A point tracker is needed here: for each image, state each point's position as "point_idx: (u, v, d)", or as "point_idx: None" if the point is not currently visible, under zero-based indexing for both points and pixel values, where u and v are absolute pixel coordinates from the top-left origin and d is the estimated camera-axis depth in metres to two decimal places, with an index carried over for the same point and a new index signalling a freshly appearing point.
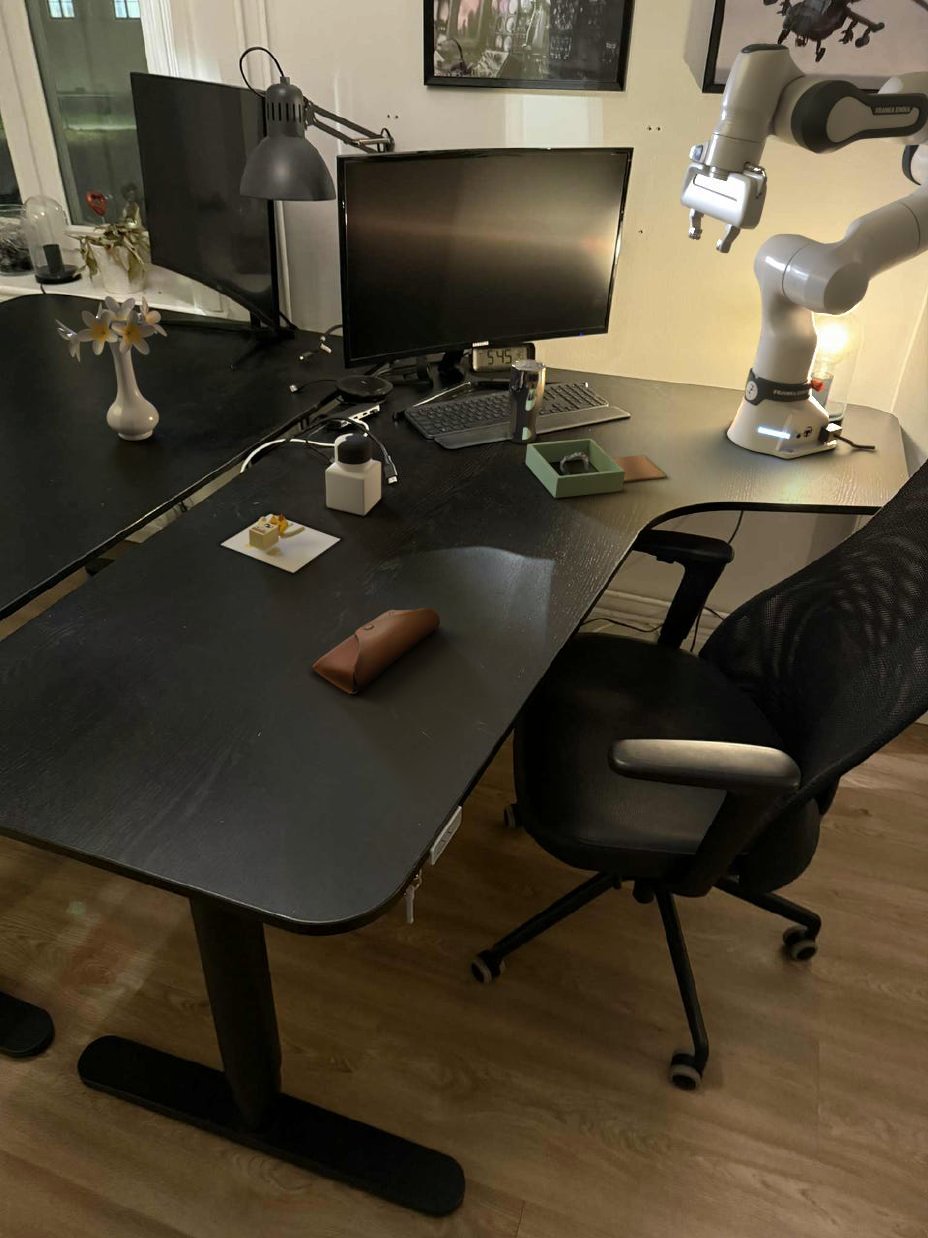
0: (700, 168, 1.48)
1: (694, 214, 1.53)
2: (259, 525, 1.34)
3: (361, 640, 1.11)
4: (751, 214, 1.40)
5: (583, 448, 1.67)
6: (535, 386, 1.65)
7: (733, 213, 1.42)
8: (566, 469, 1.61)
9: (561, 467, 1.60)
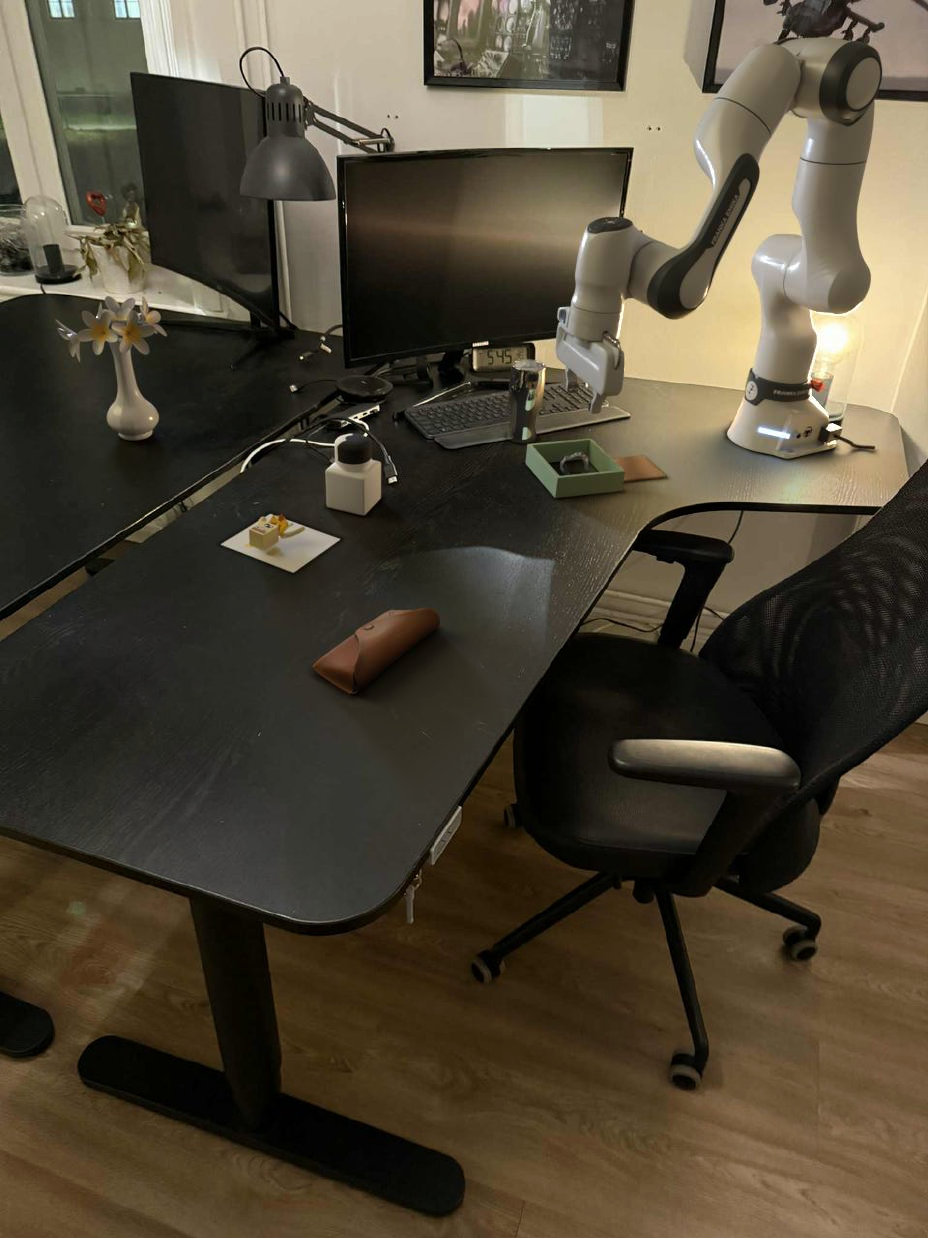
0: (566, 331, 1.49)
1: (568, 370, 1.55)
2: (259, 525, 1.34)
3: (361, 640, 1.11)
4: (612, 383, 1.41)
5: (583, 448, 1.67)
6: (535, 386, 1.65)
7: (596, 381, 1.43)
8: (566, 469, 1.61)
9: (561, 467, 1.60)
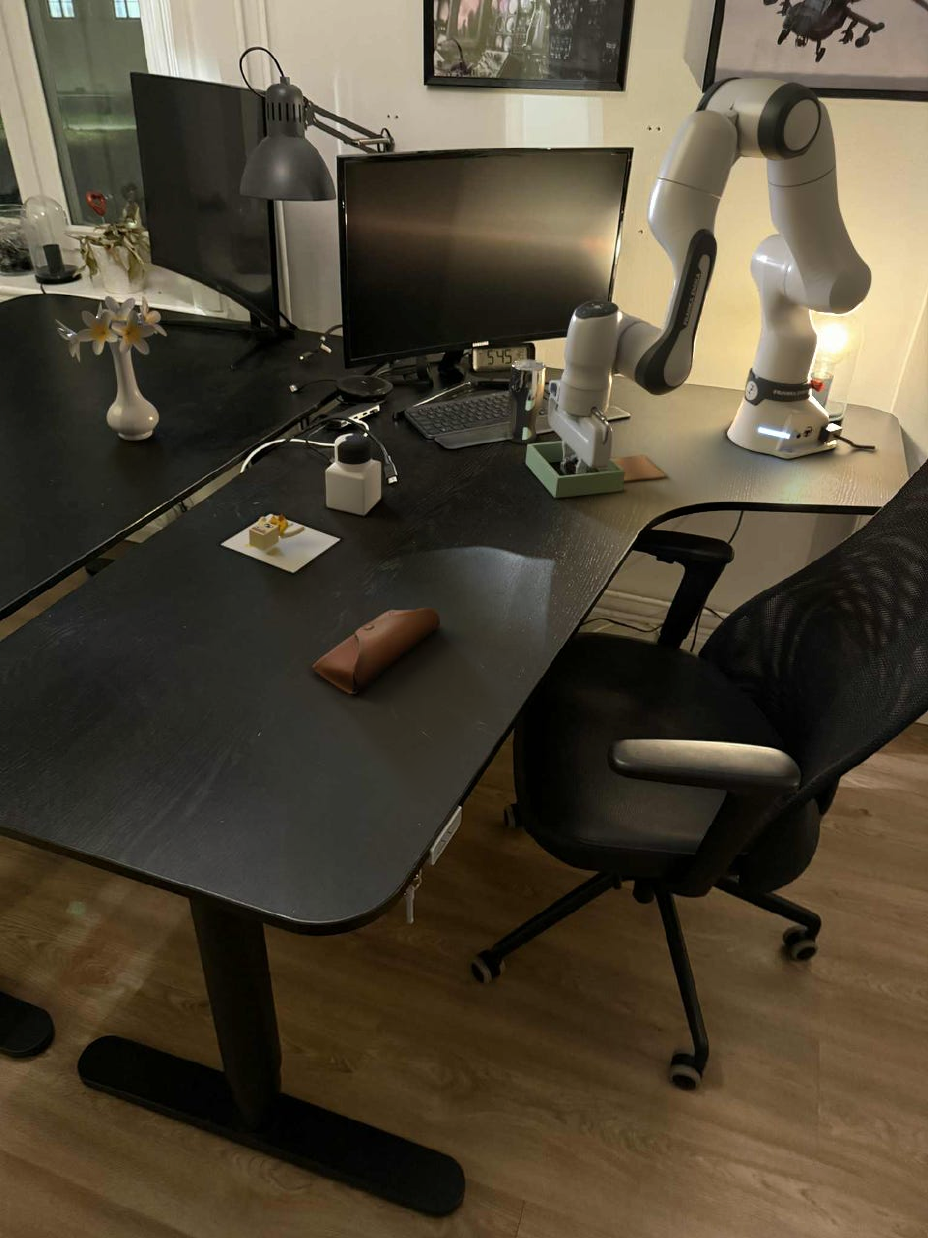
0: (557, 403, 1.57)
1: (565, 443, 1.61)
2: (259, 525, 1.34)
3: (361, 640, 1.11)
4: (600, 457, 1.49)
5: None
6: (535, 386, 1.65)
7: (586, 454, 1.51)
8: (567, 470, 1.61)
9: (562, 468, 1.60)
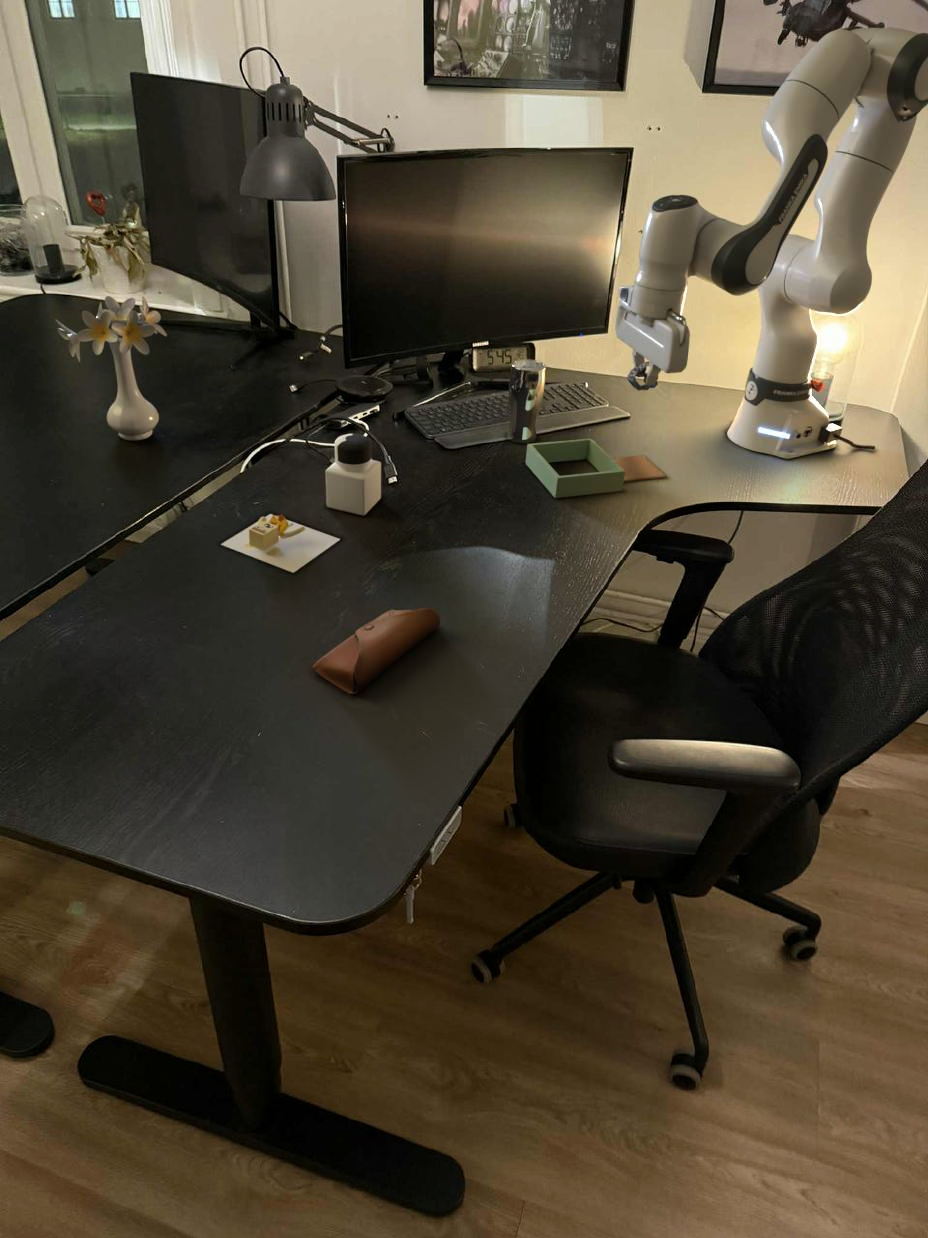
0: (628, 309, 1.51)
1: (636, 354, 1.55)
2: (259, 525, 1.34)
3: (361, 640, 1.11)
4: (677, 360, 1.43)
5: (583, 448, 1.67)
6: (535, 386, 1.65)
7: (661, 359, 1.45)
8: None
9: (634, 380, 1.53)
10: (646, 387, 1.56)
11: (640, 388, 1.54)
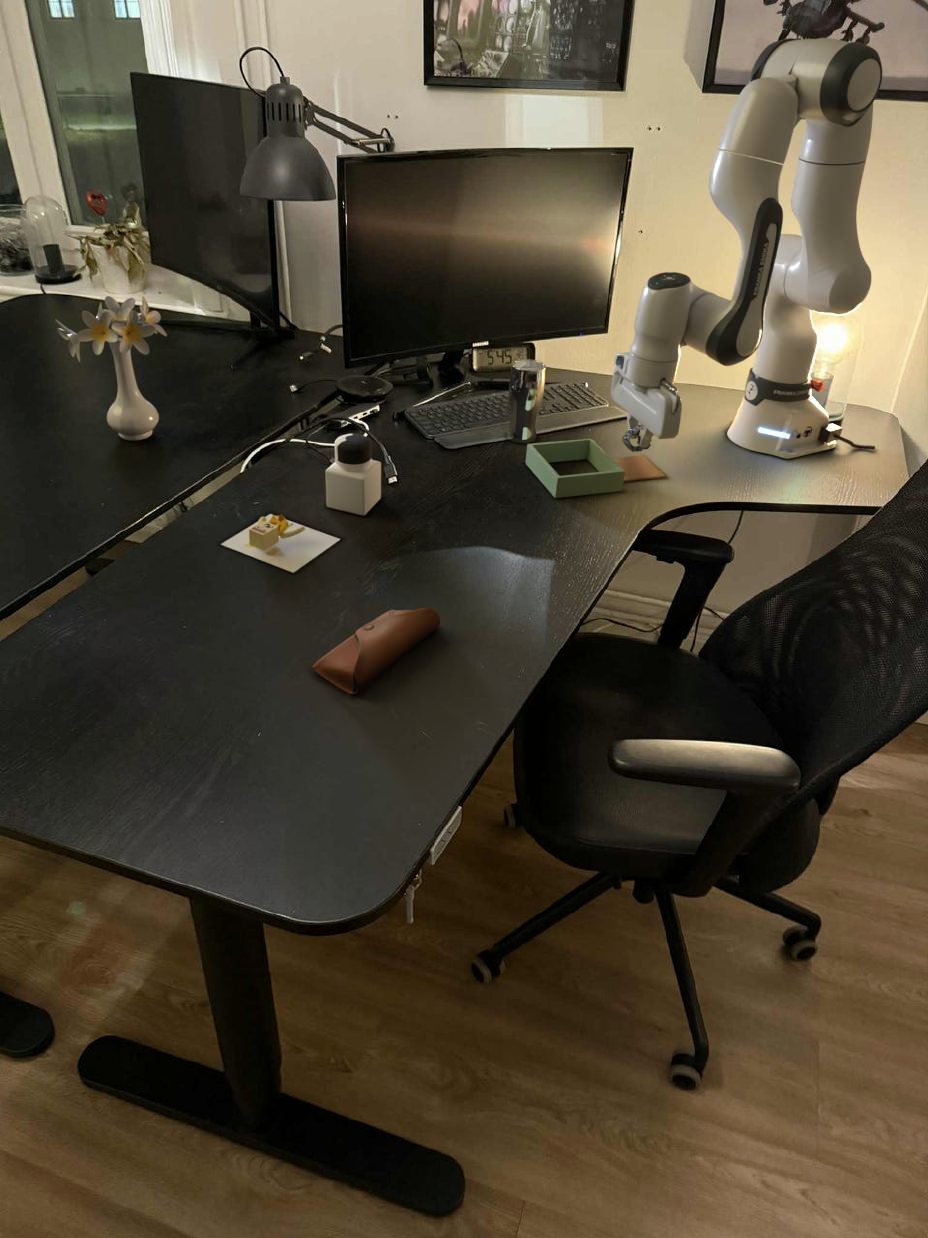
0: (624, 376, 1.59)
1: (631, 417, 1.62)
2: (259, 525, 1.34)
3: (361, 640, 1.11)
4: (669, 427, 1.51)
5: (583, 448, 1.67)
6: (535, 386, 1.65)
7: (654, 425, 1.53)
8: None
9: (628, 442, 1.61)
10: (640, 448, 1.63)
11: (634, 450, 1.62)
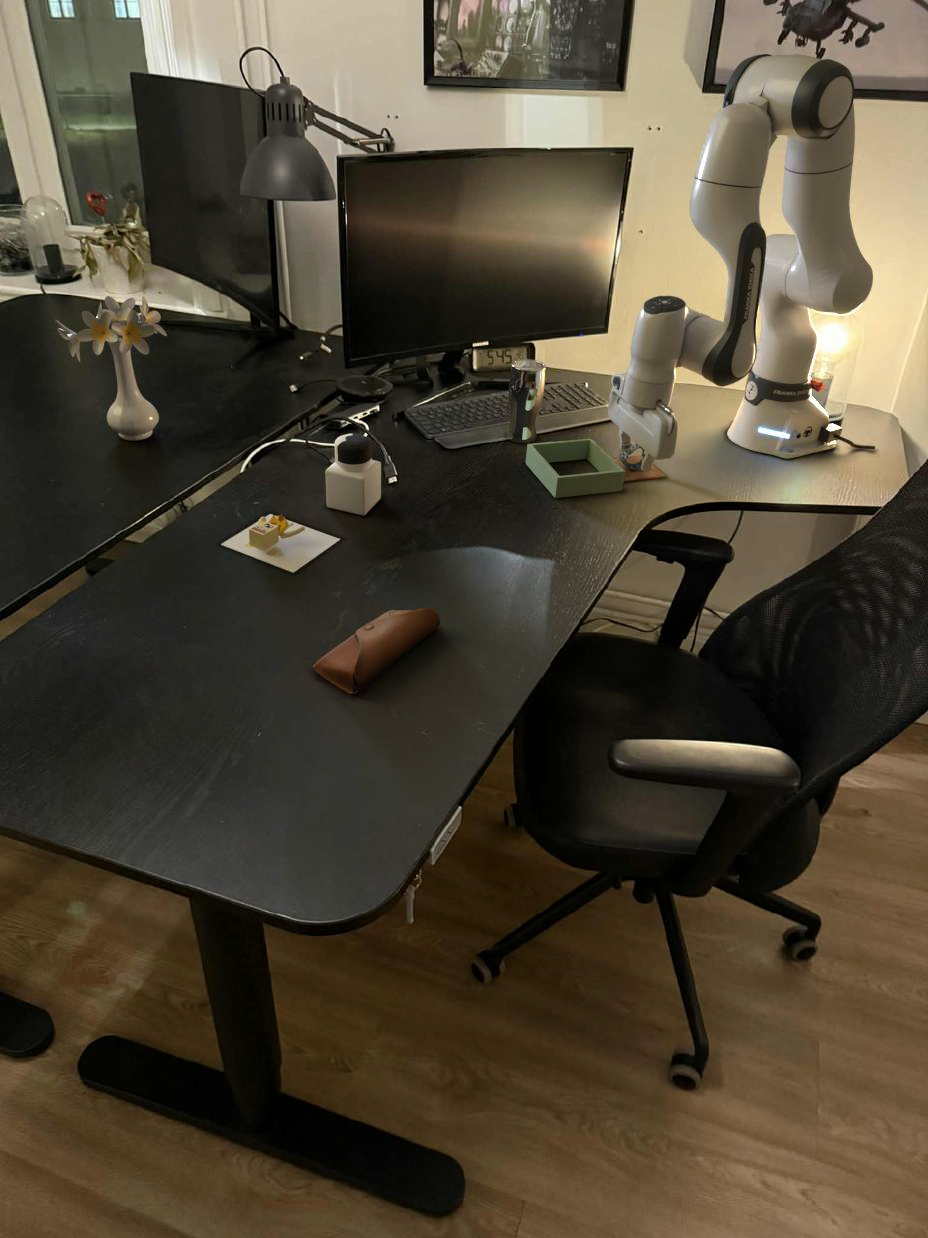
0: (620, 396, 1.61)
1: (623, 432, 1.66)
2: (259, 525, 1.34)
3: (361, 640, 1.11)
4: (665, 448, 1.53)
5: (583, 448, 1.67)
6: (535, 386, 1.65)
7: (650, 446, 1.55)
8: (627, 462, 1.64)
9: (625, 461, 1.63)
10: (636, 466, 1.65)
11: (630, 468, 1.64)
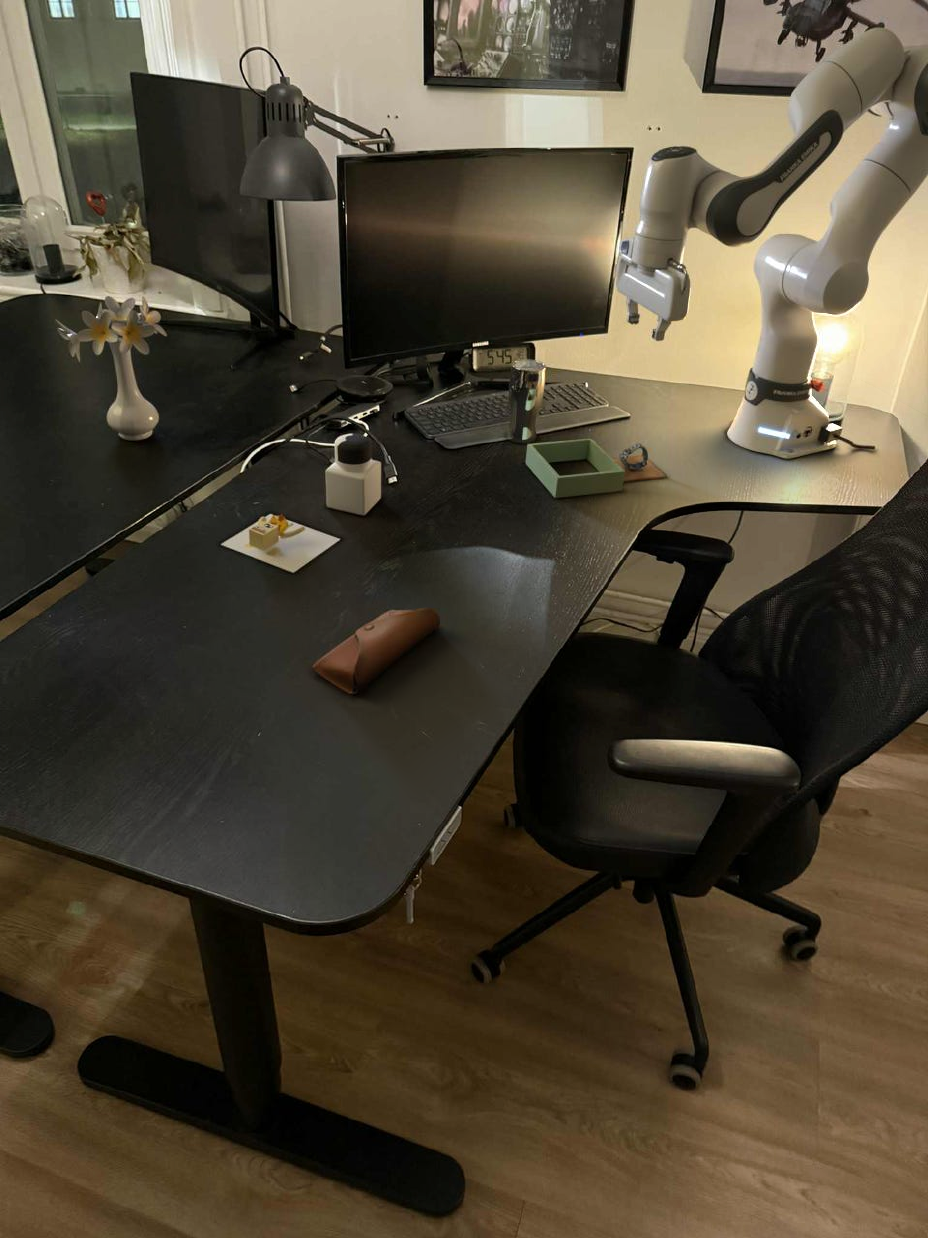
0: (629, 262, 1.55)
1: (630, 301, 1.60)
2: (259, 525, 1.34)
3: (361, 640, 1.11)
4: (678, 308, 1.47)
5: (583, 448, 1.67)
6: (535, 386, 1.65)
7: (662, 308, 1.49)
8: (627, 462, 1.64)
9: (625, 461, 1.63)
10: (636, 466, 1.65)
11: (630, 468, 1.64)
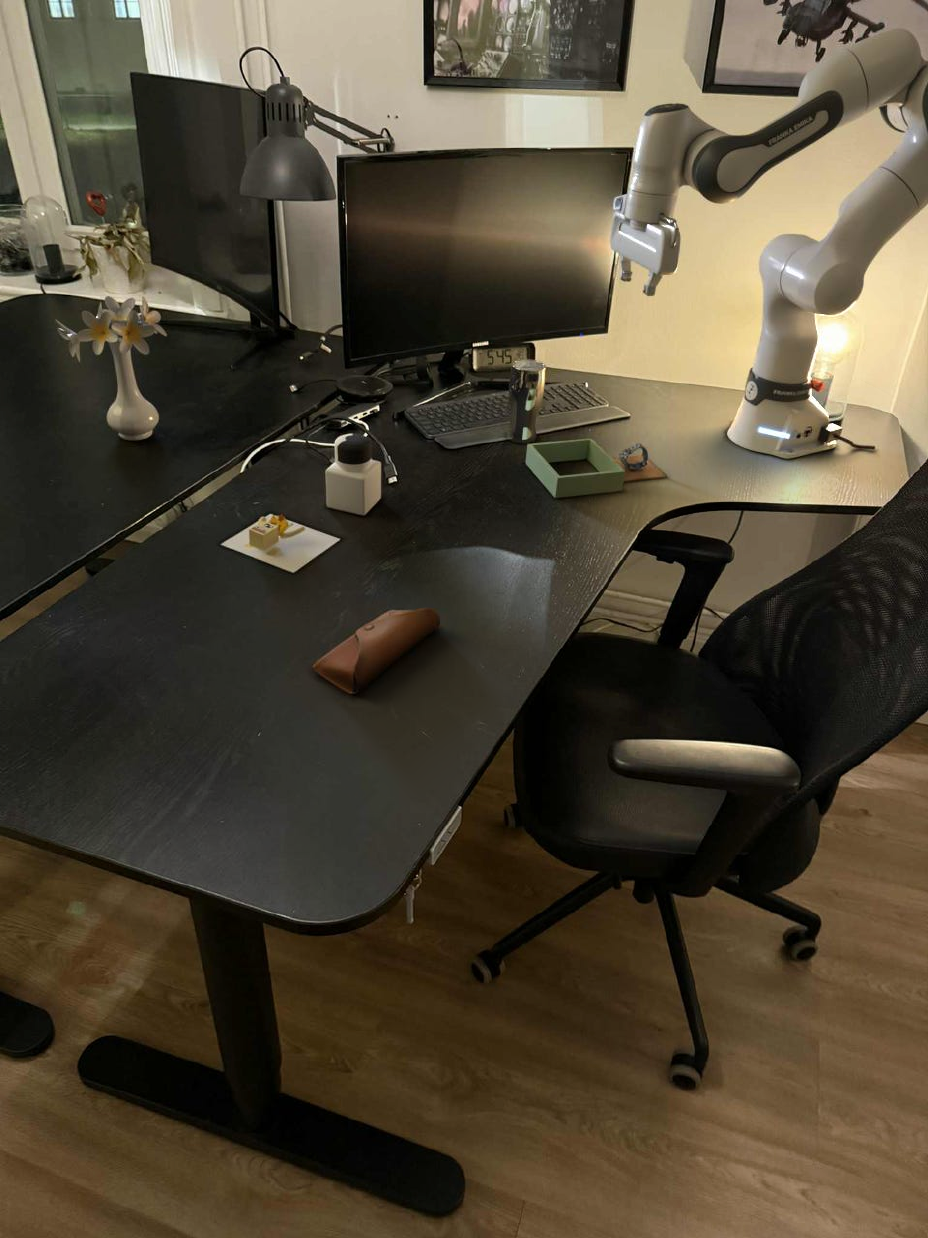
0: (622, 218, 1.59)
1: (623, 259, 1.64)
2: (259, 525, 1.34)
3: (361, 640, 1.11)
4: (668, 262, 1.51)
5: (583, 448, 1.67)
6: (535, 386, 1.65)
7: (653, 261, 1.53)
8: (627, 462, 1.64)
9: (625, 461, 1.63)
10: (636, 466, 1.65)
11: (630, 468, 1.64)
